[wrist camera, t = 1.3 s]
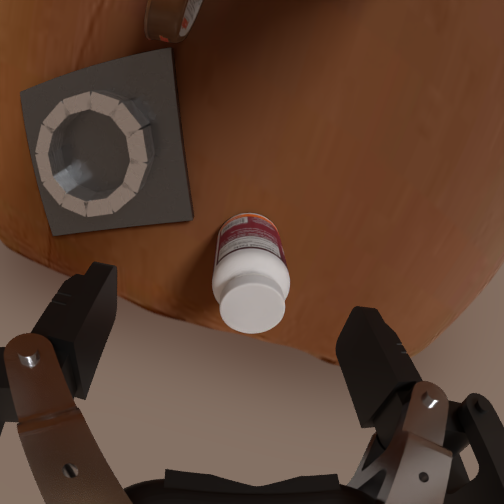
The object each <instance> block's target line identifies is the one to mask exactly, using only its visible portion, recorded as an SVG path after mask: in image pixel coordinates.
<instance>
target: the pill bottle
mask: <svg viewBox="0 0 504 504" xmlns="http://www.w3.org/2000/svg"><path fill="white" fill-rule="evenodd" d="M289 288H290V278H289V273H288V268H287V264H286V260H285V256H284V252H283V248H282V244H281V240H280V236H279V233H278V231H277V229H276V227H275V225H274V224H273V223H272V222H271V221H270V220H269V219H267V218H266V217H264V216H262V215H259V214H255V213H243V214H239V215H236V216H234V217H232V218H230V219H229V220H227V221H226V222H225V223H224V225H223V226H222V227H221V229H220V231H219V234H218V237H217V243H216V251H215V260H214V268H213V277H212V289H213V293H214V296H215V298H216V300H217V302H218V303H219V304H220V314H221V317H222V319H223V320H224V322H225V323H226V324H227V325H228V326H229V327H231V328H233V329H234V330H237V331H239V332H243V333H261V332H264V331H267V330H269V329H271V328H273V327H274V326H276V325H277V324H278V323H279V322H280V320H281V319H282V317H283V315H284V312H285V299H286V297H287V295H288V292H289Z"/></svg>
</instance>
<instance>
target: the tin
mask: <svg viewBox="0 0 504 504" xmlns="http://www.w3.org/2000/svg"><path fill="white" fill-rule="evenodd" d="M202 3H203V0H148V1H147V7H146V11H145V18H144V32H145V35H146V38H147V39H149V40H153V39H155V40H160V41H165V42H170V43H178V42H181V41H183V40H184V39H185V38H186V36H187V35H188V33H189V32H190V30H191V28H192V26H193V24H194V22H195V19H196V17H197V15H198V12H199V10H200V7H201V5H202Z"/></svg>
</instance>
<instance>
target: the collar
mask: <svg viewBox="0 0 504 504" xmlns="http://www.w3.org/2000/svg"><path fill="white" fill-rule="evenodd" d="M20 96H21V103H22V110H23V117H24V123H25V128H26V134H27V139H28V144H29V149H30V154H31V158H32V163H33V167H34V171H35V176H36V180H37V183H38V187H39V191H40V195H41V198H42V202H43V205H44V209H45V212H46V216H47V219H48V222H49V225H50V228H51V231H52V234H53V236H57V235H65V234H72V233H80V232H88V231H97V230H105V229H114V228H122V227H131V226H140V225H150V224H159V223H169V222H180V221H190V220H193V218H194V211H193V205H192V198H191V191H190V185H189V178H188V171H187V163H186V156H185V149H184V141H183V133H182V125H181V117H180V108H179V100H178V91H177V81H176V71H175V61H174V50H173V48H171V47H170V48H164V49H159V50H154V51H149V52H144V53H140V54H135V55H131V56H127V57H123V58H119V59H115V60H111V61H108V62H104V63H100V64H97V65H94V66H90V67H87V68H84V69H81V70H77V71H74V72H71V73H68V74H66V75H63V76H60V77H57V78H54V79H52V80H49V81H46V82H44V83H41V84H39V85H36V86H34V87H31V88H29V89H26V90H24V91H22V92H20Z"/></svg>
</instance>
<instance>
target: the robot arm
mask: <svg viewBox="0 0 504 504" xmlns="http://www.w3.org/2000/svg"><path fill="white" fill-rule="evenodd" d="M116 310H117V267H116V266H114V265H109V264H104V263H99V262H93V263H92V264H91V266H90V267H89V269H88V270H87V272H86V273H85V275H80V274H75V275H74V276H72V277H71V278H69V279H68V280H66V281H65V282H64V283H63V284H62V286H61V287H60V289H59V290H58V293H57V294H56V295H55V296H54V298H53V299H52V302H50V303H49V305H48V306H47V308H46V310H45V311H44V313H43V314H42V316H41V317H40V319H39V320H38V322H37V323H36V325H35V327H34V328H33V330H32V332H31V333H26V334H22V335H19V336H16V337H15V338H13V339H12V340H11V341H10V342H9V343H8V344H7V345H6V347H0V435H1V432H2V429H3V426H4V423H5V421H6V422H19V423H18V424H17V429H18V433H19V437H20V440H21V443H22V446H23V449H24V452H25V455H26V457H27V460H28V463H29V466H30V468H31V471H32V473H33V476H34V478H35V481H36V483H37V485H38V488H39V490H40V492H41V495H42V497H43V499H44V501H45V503H46V504H504V427H503V425H502V423H501V421H500V419H499V417H498V415H497V413H496V411H495V410H494V408H493V406H492V405H491V403H490V402H489V401H488V400H487V399H486V398H485V397H484V396H482V395H480V394H477V393H472V394H470V395H468V396H467V398H466V399H465V400H464V401H463V402H462V403H458V402H454V401H449V400H448V398H447V396H446V394H445V393H444V392H443V390H442V389H441V388H440V387H438V386H437V385H435V384H433V383H431V382H428V381H422V379H421V377H420V375H419V373H418V371H417V370H416V368H415V366H414V364H413V362H412V360H411V359H410V357H409V355H408V354H406V350H405V348H404V346H403V345H401V344H402V343H401V341H400V339H399V338H398V336H397V334H396V333H395V332H394V331H393V330H392V329H391V328H390V327H389V326H388V325H387V324H386V323H385V322H384V320H383V319H382V317H381V315H380V313H379V312H378V310H377V309H375V308H368V307H360V306H356V307H354V308H353V310H352V311H351V313H350V315H349V317H348V319H347V321H346V323H345V325H344V327H343V329H342V331H341V333H340V335H339V337H338V340H337V343H336V356H337V359H338V361H339V364H340V367H341V370H342V373H343V375H344V378H345V381H346V384H347V387H348V390H349V393H350V396H351V398H352V401H353V404H354V407H355V410H356V413H357V416H358V419H359V422H360V425H361V428H369V427H375V429H376V432H375V433H374V434H373V435H372V437H371V440H370V442H369V444H368V446H367V448H366V451H365V453H364V455H363V457H362V460H361V462H360V464H359V466H358V468H357V470H356V472H355V474H354V476H353V478H352V479H351V481H350V482H349V483H348V484H347V485H346V486H345V485H341V484H339V480H338V475H337V474H329V475H316V476H299V477H296V478H292V479H288V480H285V481H281V482H277V483H273V484H269V485H264V486H257V487H256V486H251V485H247V484H243V483H239V482H235V481H232V480H228V479H224V478H220V477H217V476H214V475H211V474H200V473H191V472H182V471H175V470H168V469H165V479H156V480H150V481H144V482H141V483H137V484H134V485H131V486H129V487H126V488H124V489H123V488H122V487H121V485H120V483H119V482H118V480H117V478H116V477H115V475H114V473H113V472H112V470H111V468H110V466H109V465H108V463H107V461H106V459H105V458H104V456H103V454H102V452H101V451H100V449H99V447H98V445H97V443H96V441H95V439H94V437H93V435H92V433H91V431H90V429H89V427H88V425H87V423H86V421H85V419H84V417H83V415H82V413H81V411H80V409H79V408H77V406H76V404H75V402H74V400H73V399H74V397H77V398H80V399H84V400H86V397H87V393H88V391H89V388H90V385H91V382H92V379H93V377H94V374H95V371H96V368H97V365H98V363H99V360H100V357H101V354H102V352H103V349H104V347H105V344H106V342H107V339H108V336H109V334H110V331H111V329H112V326H113V323H114V321H115V316H116ZM469 444H470V445H471V447H472V449H473V452H474V454H475V456H476V459H477V461H478V464H479V472H478V475H477V476H476V478H474V479H473V480H471V481H470V480H469V478H468V475H467V472H466V470H465V467H464V465H463V462H462V460H461V457H460V455H459V453H460V452H461V451H462V450H463V449H464V448H466V447H467V446H468V445H469Z"/></svg>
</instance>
